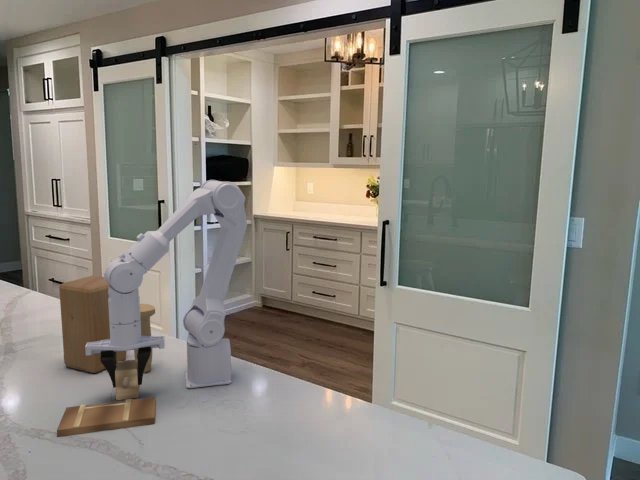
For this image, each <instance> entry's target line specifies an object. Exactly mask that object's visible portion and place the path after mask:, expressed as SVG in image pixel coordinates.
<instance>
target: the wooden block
mask: <svg viewBox="0 0 640 480" xmlns="http://www.w3.org/2000/svg"><path fill="white" fill-rule="evenodd" d="M109 285H110V284H108V283H107V281H106V280H105V278H104V276H98V275H89V276H86V277H82V278H78V279H75V280H70V281H67V282H63V283H61V284H60V285H59V287H58V288H59V289H58V290H59V302H60V303H59V304H60V316H61V317H60V319H61V333H62V344H63V345H62V347H63V350H62V351H63V359H64V361H63V363H64V365H65V366H66V367H67V368H71V369H75V370H80V371H84V372H87V373H91V374H96V373H99V372H102V371H103V370H106V368H105V367H104V365H103V364H102V363H101V361H100V357H101V353H94V354H92V355H86V350H85V346H86V344H87V343H88V342H96V341H101V340H106V339H110V325H109V306H108V298H109V294H108V290H109V289H108V286H109ZM126 357H127V351H116V364H117V362H118V361H125V359H126Z"/></svg>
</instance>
